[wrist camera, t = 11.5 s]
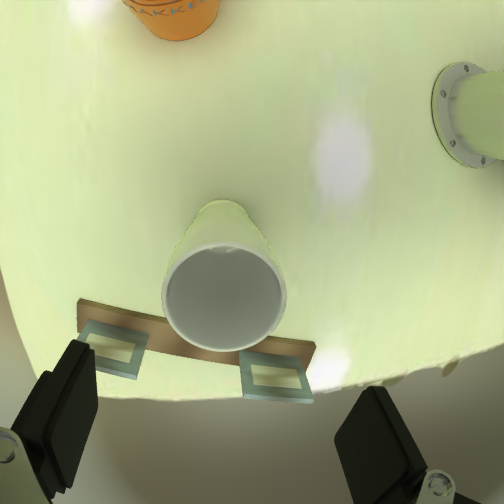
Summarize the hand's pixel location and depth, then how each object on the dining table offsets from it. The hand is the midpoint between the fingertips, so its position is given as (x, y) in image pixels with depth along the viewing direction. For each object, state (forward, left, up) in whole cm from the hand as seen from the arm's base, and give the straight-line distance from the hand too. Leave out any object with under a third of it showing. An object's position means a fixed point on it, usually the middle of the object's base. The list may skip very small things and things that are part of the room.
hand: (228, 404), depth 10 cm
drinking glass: (0, 0, -22) cm, 22 cm away
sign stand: (0, +13, -22) cm, 26 cm away
